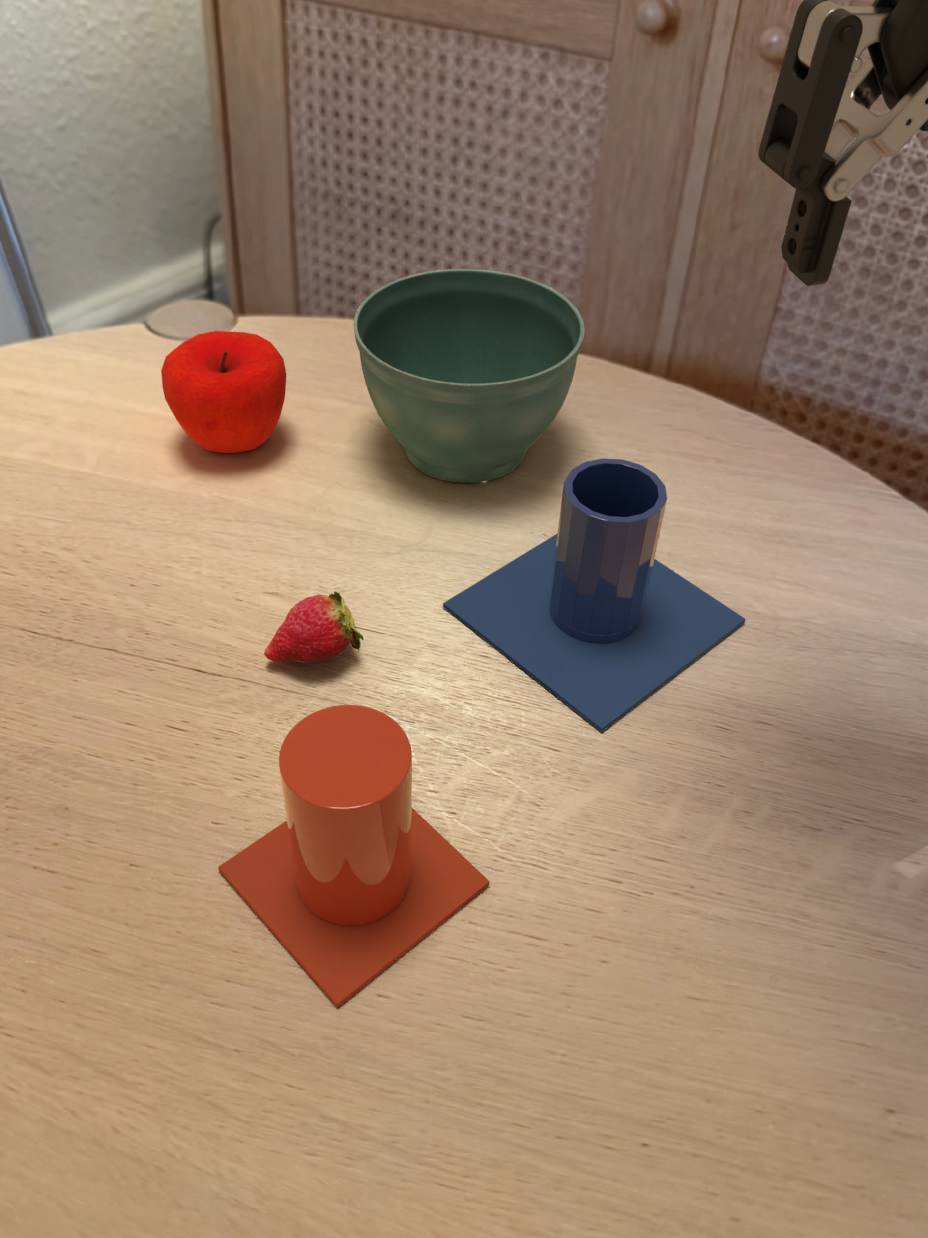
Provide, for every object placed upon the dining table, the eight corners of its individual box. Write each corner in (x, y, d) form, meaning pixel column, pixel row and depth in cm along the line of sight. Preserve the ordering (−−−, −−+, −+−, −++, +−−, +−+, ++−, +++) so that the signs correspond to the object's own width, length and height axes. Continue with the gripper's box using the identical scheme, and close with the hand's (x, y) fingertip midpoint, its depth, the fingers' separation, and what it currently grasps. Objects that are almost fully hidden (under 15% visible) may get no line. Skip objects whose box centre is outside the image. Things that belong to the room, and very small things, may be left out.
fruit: (263, 637, 68) (254, 579, 65) (357, 626, 69) (354, 569, 66) (267, 687, 65) (259, 629, 62) (366, 675, 66) (363, 617, 63)
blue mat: (744, 623, 71) (746, 618, 70) (601, 733, 64) (602, 728, 63) (587, 518, 78) (588, 514, 77) (442, 607, 71) (442, 603, 71)
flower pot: (316, 437, 84) (307, 310, 76) (473, 368, 91) (479, 246, 84) (452, 544, 75) (456, 413, 68) (612, 458, 83) (632, 331, 75)
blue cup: (659, 613, 70) (687, 492, 63) (598, 658, 67) (619, 536, 60) (592, 566, 74) (611, 446, 66) (530, 607, 71) (543, 485, 63)
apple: (196, 489, 79) (180, 398, 73) (158, 426, 84) (140, 336, 78) (310, 456, 82) (303, 366, 76) (266, 398, 87) (256, 309, 82)
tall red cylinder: (435, 878, 56) (439, 759, 49) (344, 949, 53) (333, 833, 46) (362, 806, 59) (355, 684, 52) (272, 869, 56) (252, 749, 49)
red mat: (489, 885, 56) (490, 881, 56) (337, 1008, 51) (337, 1004, 51) (367, 769, 61) (367, 764, 61) (218, 871, 56) (217, 867, 56)
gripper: (932, -180, 31) (790, 331, 42) (1314, -187, 34) (1087, 287, 46) (797, -223, 36) (703, 244, 47) (1142, -225, 39) (977, 211, 51)
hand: (892, 265), depth 46 cm, fingers open, 8 cm apart
